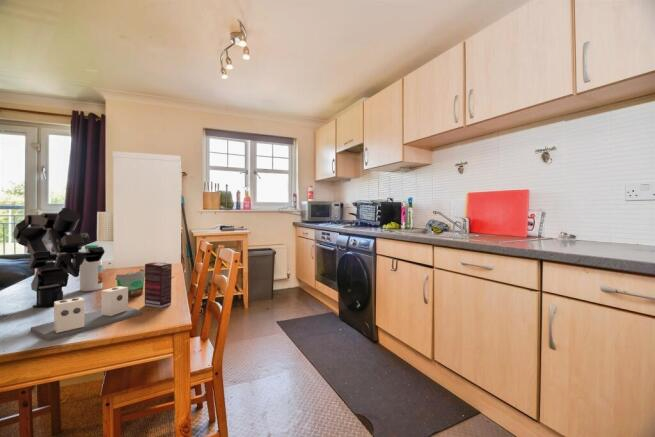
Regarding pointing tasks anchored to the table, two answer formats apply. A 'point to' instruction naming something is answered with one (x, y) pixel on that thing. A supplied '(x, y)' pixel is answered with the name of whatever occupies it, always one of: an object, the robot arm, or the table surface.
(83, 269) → the milk bottle
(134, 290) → the food container
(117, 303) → the push button box
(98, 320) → the key mat
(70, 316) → the white block grey domes
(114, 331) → the table surface
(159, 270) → the supplement box
